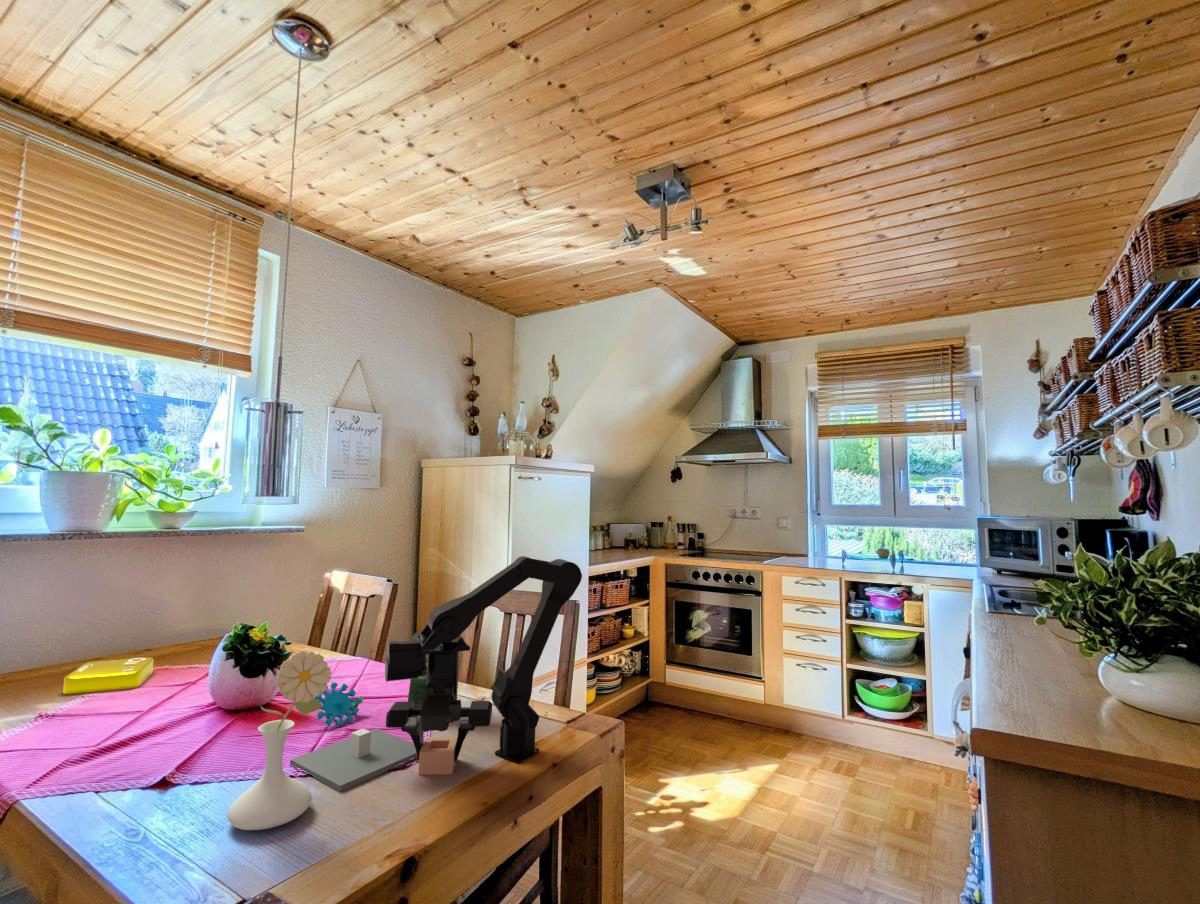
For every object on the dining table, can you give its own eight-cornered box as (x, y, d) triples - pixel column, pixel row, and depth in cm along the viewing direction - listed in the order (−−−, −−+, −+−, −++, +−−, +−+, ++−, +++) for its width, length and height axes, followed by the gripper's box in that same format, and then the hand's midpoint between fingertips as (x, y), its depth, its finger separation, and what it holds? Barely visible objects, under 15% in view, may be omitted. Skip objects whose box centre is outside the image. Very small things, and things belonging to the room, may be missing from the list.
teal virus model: (318, 725, 119) (312, 682, 126) (306, 740, 122) (302, 697, 128) (369, 719, 127) (361, 679, 133) (357, 734, 129) (351, 693, 135)
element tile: (84, 678, 150) (86, 660, 151) (154, 672, 157) (155, 654, 157) (59, 697, 137) (61, 676, 137) (137, 690, 143) (138, 670, 143)
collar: (456, 759, 110) (457, 737, 110) (452, 774, 104) (453, 751, 104) (424, 759, 109) (426, 738, 109) (418, 774, 103) (419, 751, 104)
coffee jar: (456, 711, 134) (460, 630, 135) (435, 723, 127) (439, 637, 128) (423, 704, 137) (427, 626, 139) (400, 716, 130) (404, 632, 132)
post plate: (425, 754, 112) (427, 727, 112) (339, 791, 97) (341, 761, 97) (375, 733, 120) (377, 708, 121) (289, 765, 106) (291, 737, 106)
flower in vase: (218, 846, 81) (232, 666, 83) (234, 805, 92) (246, 646, 94) (320, 827, 86) (331, 658, 88) (324, 791, 97) (333, 640, 99)
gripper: (379, 690, 99) (374, 783, 98) (489, 689, 101) (485, 781, 100) (395, 670, 110) (391, 754, 109) (494, 670, 112) (490, 752, 111)
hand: (438, 761), depth 107 cm, fingers closed on collar, 6 cm apart
